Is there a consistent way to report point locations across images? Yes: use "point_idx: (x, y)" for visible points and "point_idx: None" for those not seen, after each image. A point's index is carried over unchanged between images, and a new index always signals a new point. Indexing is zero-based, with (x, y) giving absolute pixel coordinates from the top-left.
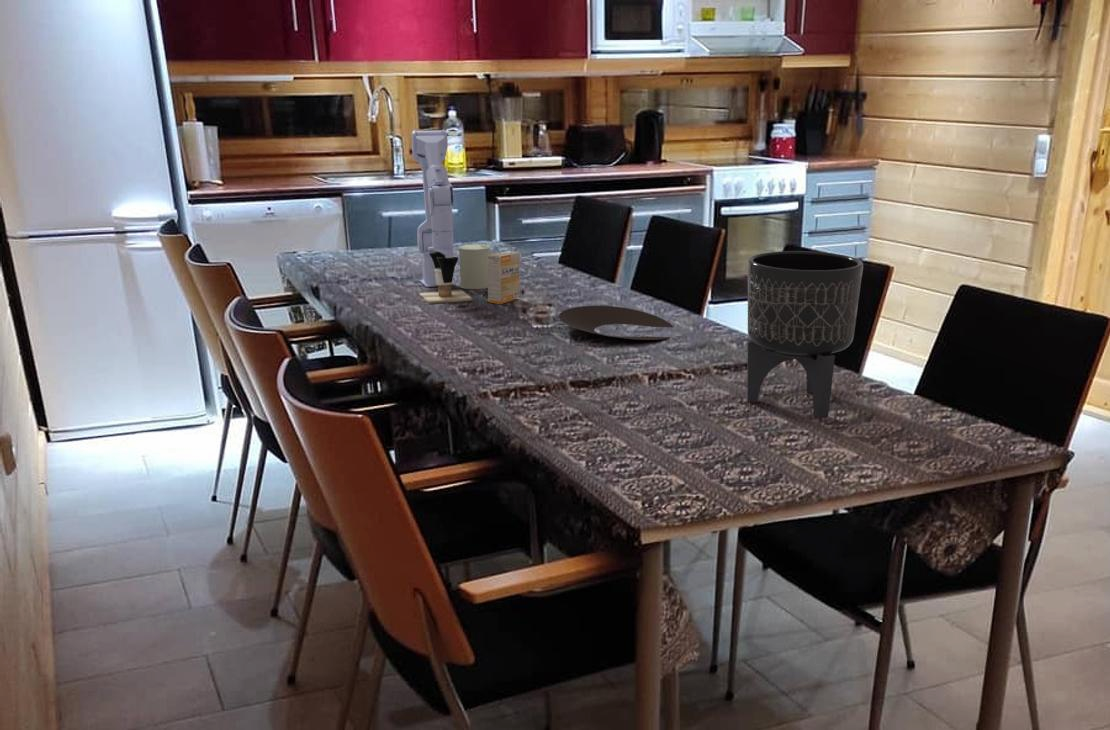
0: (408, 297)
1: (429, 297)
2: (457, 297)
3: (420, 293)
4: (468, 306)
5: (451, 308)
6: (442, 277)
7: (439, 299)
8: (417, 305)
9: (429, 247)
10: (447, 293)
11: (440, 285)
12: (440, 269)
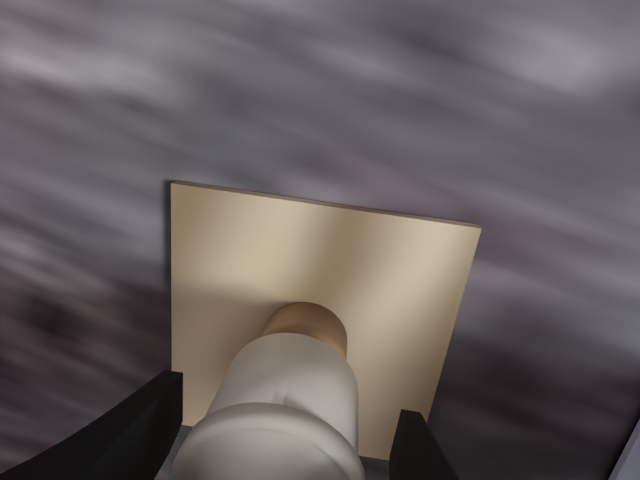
0: (455, 128)
1: (300, 237)
2: (222, 373)
3: (460, 231)
4: (47, 347)
5: (24, 256)
6: (160, 395)
7: (213, 270)
8: (170, 98)
9: None
10: None
11: None
12: (264, 475)
